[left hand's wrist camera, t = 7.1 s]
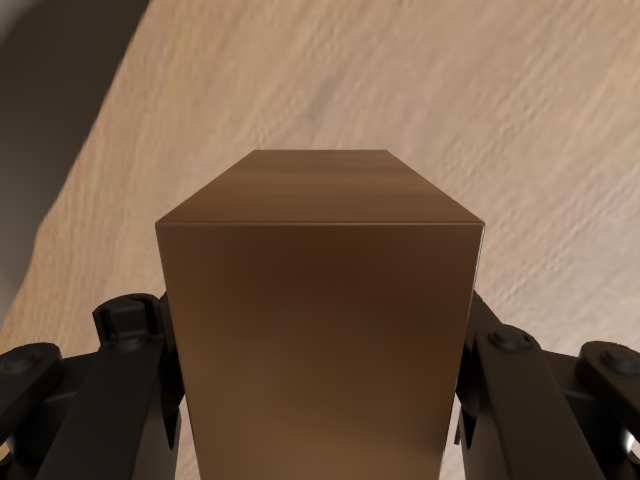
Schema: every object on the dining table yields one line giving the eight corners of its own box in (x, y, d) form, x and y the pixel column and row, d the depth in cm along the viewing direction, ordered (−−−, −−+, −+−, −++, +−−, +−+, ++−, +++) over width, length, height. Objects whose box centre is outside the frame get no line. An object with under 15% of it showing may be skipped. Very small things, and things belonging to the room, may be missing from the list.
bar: (253, 149, 13) (152, 222, 5) (386, 149, 13) (487, 222, 5) (279, 537, 22) (255, 789, 14) (360, 537, 22) (384, 789, 14)
